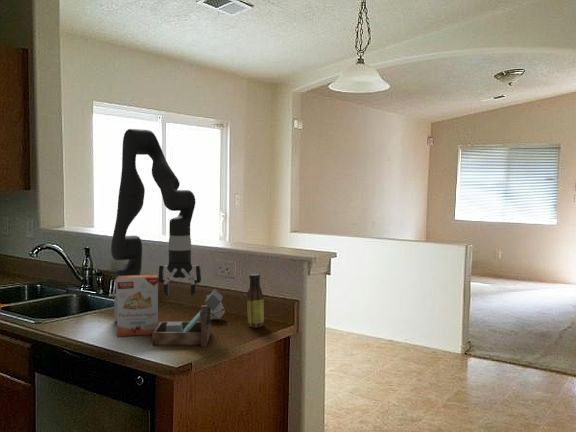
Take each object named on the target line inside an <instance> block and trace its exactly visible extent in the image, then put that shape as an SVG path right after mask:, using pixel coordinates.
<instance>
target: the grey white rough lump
mask: <svg viewBox="0 0 576 432" xmlns="http://www.w3.org/2000/svg"><path fill="white" fill-rule="evenodd" d="M226 312H228V311H227V310H225V306H224V305H223V299H222V301H221V303H220V304H219V305H218V306H217V307H216V308H215V309H214V311H213V310H212V309H211V320H219V321H220V322H222V319H221V318H222V317H223V315H224V314H225V313H226Z"/></svg>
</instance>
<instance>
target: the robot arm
mask: <svg viewBox="0 0 576 432" xmlns="http://www.w3.org/2000/svg"><path fill="white" fill-rule="evenodd" d="M137 155H138V156H139V155H144V156H145V155H148V157H150V158H151V160H152V165H151V166H152V167H151V176H152V178H153V180H154V182H155V183H156V185H157V187H158V188H159V189H160V193H161V196H162V201H163V205H164V206H165V207H166V209H168V210H169V211H170V212H171V211H172V212H173V211H174V212H175V211H177V212H179V214H178V216H175V217H173V218H171V219H170V220H169V239H168V265H166V264H165V265H164V264H160V265H159V267H158V284H159V283H160V284H163V294H165V296H169V294H170V283H169V282H170V281H171V280H172V279H173V278H175V279H178V278H181V279H184V278H186V280H188V281H189V282H190V284H191V285H190V296H194V295H195V293H196V284H200V283H201V281H202V273H201V265H200V264H195V265H192V239H191V222H192V219H193V215H194V210H195V207H196V196H195V194H194V193H193V192H192V191H191V190H189V189H179V187H180V180H179V179H178V177H177V176H176V174H175V173H174V172H173V170H172V169H171V167H170V165H169V163H168V162H167V159H166V157H165V154H164V151H163V149H162V147H161V145H160V143H159V141H158V138H157V136H156V135H155V133H154V132H153V131H152V130H149V129H140V128H139V129H138V128H129V129H127V130H126V131H125V132H124V134H123V138H122V154H121V156H122V157H121V160H122V161H121V174H120V183H119V189H118V198H117V209H116V218H115V224H114V225H115V226H114V229H113V230H114V231H113V233H112V234H113V235H112V239H111V246H110V247H111V248H110V252H111V257H112V259H113V260H115V261H125V260H127V261H128V262H127V263H126V264H124V265H123V266H121V267H119V268H117V269H116V271H115V297H114V322H115V323H117V278H118V276H133V275H141V272H142V271H141V270H142V259H143V257H142V256H143V244H142V243H143V242H142V240H141V238H140V236H138V235H127V232H128V229H129V227H130V225H131V223H132V222H133V221H134V220H135V218H137V216H138V215H139V213H140V212H141V210H142V209H143V207H144V200H145V194H146V193H145V191H146V190H145V189H146V188H145V186H144V185H145V184H143V181H142V178H141V177H140V175H139V173H138V171H137V165H136V164H137V163H136V159H137ZM166 270H167V271H168V272H169V273H170V274H169V275H168V276H167V277H166V279H165V278H164V273H165V272H166ZM192 270H193V271H194V272H195V274H196V279H195V278H194V276H193V275H192V273H191V271H192Z"/></svg>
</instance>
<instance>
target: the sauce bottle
mask: <svg viewBox="0 0 576 432" xmlns="http://www.w3.org/2000/svg"><path fill="white" fill-rule="evenodd" d="M248 276H249V277H248V278H249V288H248V290H247V293H246V295H247V297H246V300H247V301H246V304H247V307H246V309H247V310H246V311H247V324H248V327H250V328H254V329H255V328H256V329H257V328H261V327H264V324H265V323H264V322H265V313H264V312H265V306H264V305H265V304H264V303H265V301H264V295H263V292H262V288H261V282H260V281H261V280H260V279H261V274H260V273H250V274H249V275H248Z"/></svg>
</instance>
